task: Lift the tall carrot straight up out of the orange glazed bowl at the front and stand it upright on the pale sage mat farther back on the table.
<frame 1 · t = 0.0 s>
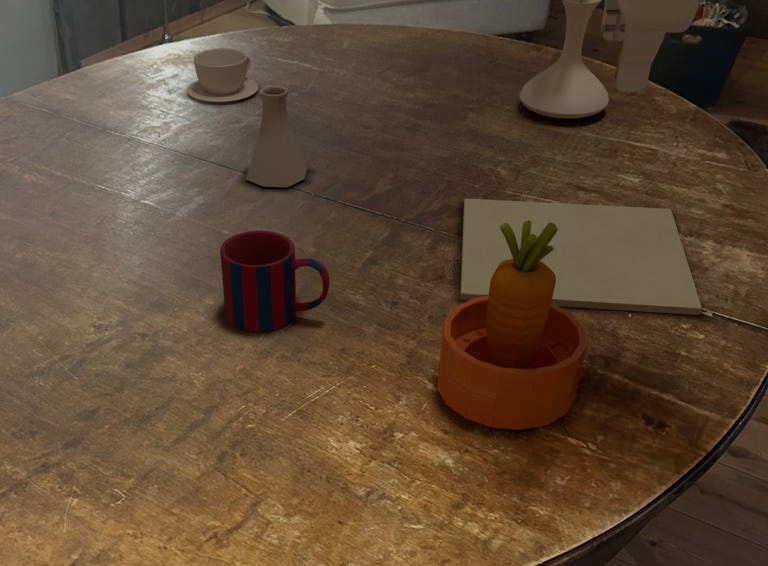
hand: (620, 61, 61), 26 cm above the table, tool pointing down, fingers open, 8 cm apart
mat: (571, 255, 94), on the table
bowl: (504, 391, 78), on the table
teacup: (223, 93, 130), on the table
cup: (276, 318, 87), on the table
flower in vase: (559, 114, 122), on the table
flask: (276, 177, 110), on the table
carrot: (504, 388, 78), resting in bowl
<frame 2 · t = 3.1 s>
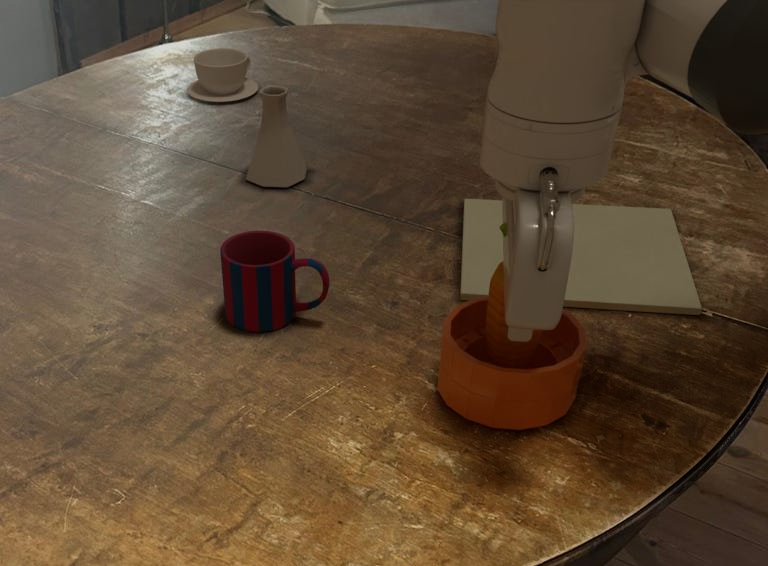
hand: (517, 313, 73), 8 cm above the table, tool pointing down, fingers closed on carrot, 5 cm apart
carrot: (504, 388, 78), resting in bowl, touching gripper
everything else where it was.
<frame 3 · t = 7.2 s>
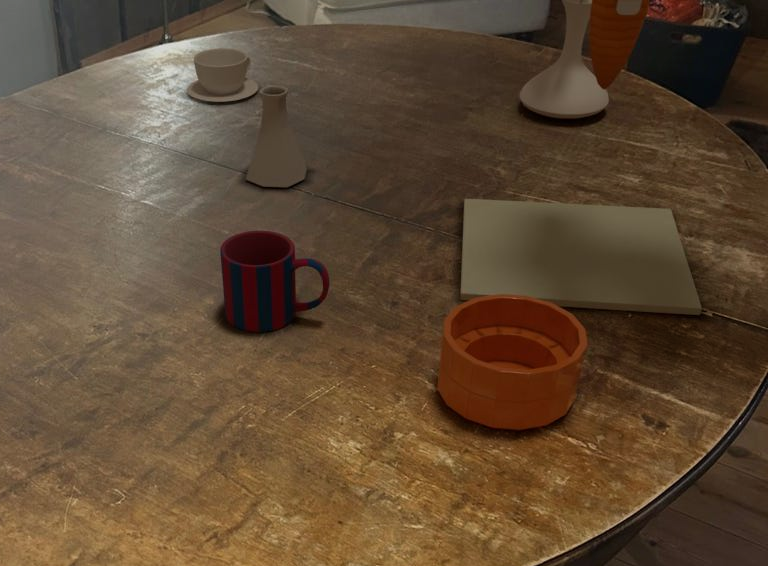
hand: (621, 0, 76), 24 cm above the table, tool pointing down, fingers closed on carrot, 5 cm apart
carrot: (603, 91, 81), point 17 cm above the table, touching gripper
everything else where it was.
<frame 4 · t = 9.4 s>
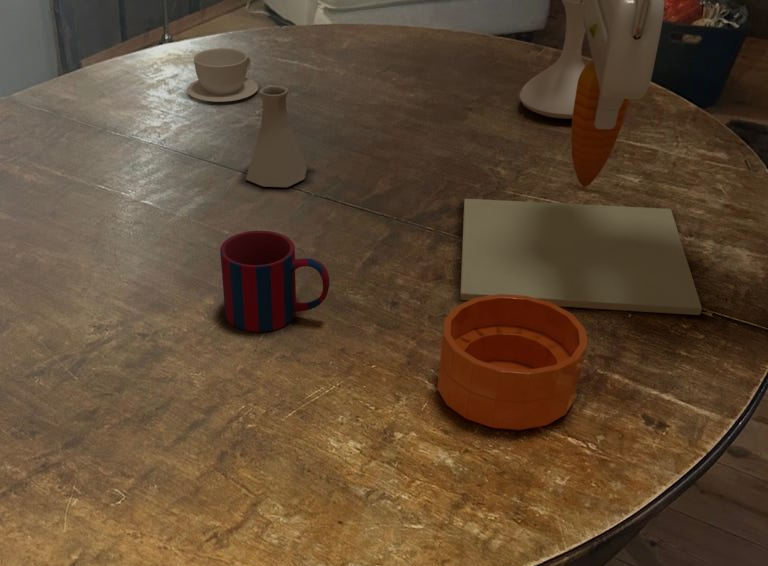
hand: (600, 112, 85), 15 cm above the table, tool pointing down, fingers closed on carrot, 5 cm apart
carrot: (583, 188, 90), point 7 cm above the table, touching gripper
everything else where it was.
when the fingers open (8 cm above the table, at t = 11.4 s): carrot stays where it is, resting on mat.
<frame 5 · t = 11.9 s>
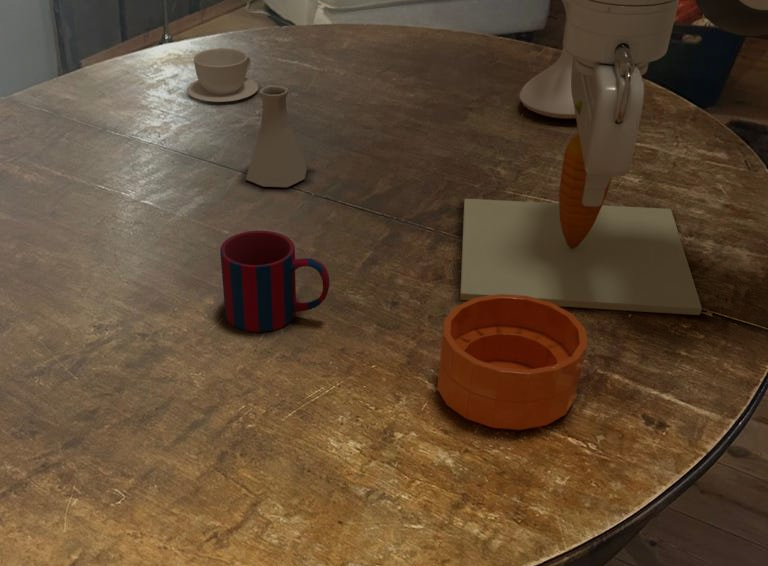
hand: (586, 180, 89), 8 cm above the table, tool pointing down, fingers open, 8 cm apart
carrot: (571, 249, 94), point 1 cm above the table, touching mat
everything else where it was.
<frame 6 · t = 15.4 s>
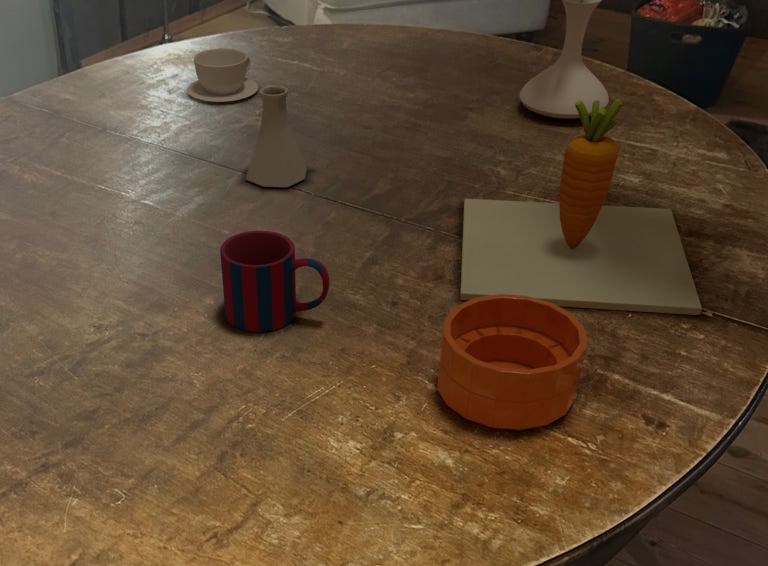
nothing on the table moved.
at the end: carrot inside the target area on the mat (0.0 cm from its centre), point 0.6 cm above the mat's base; carrot touching mat; carrot tilted 0° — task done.
